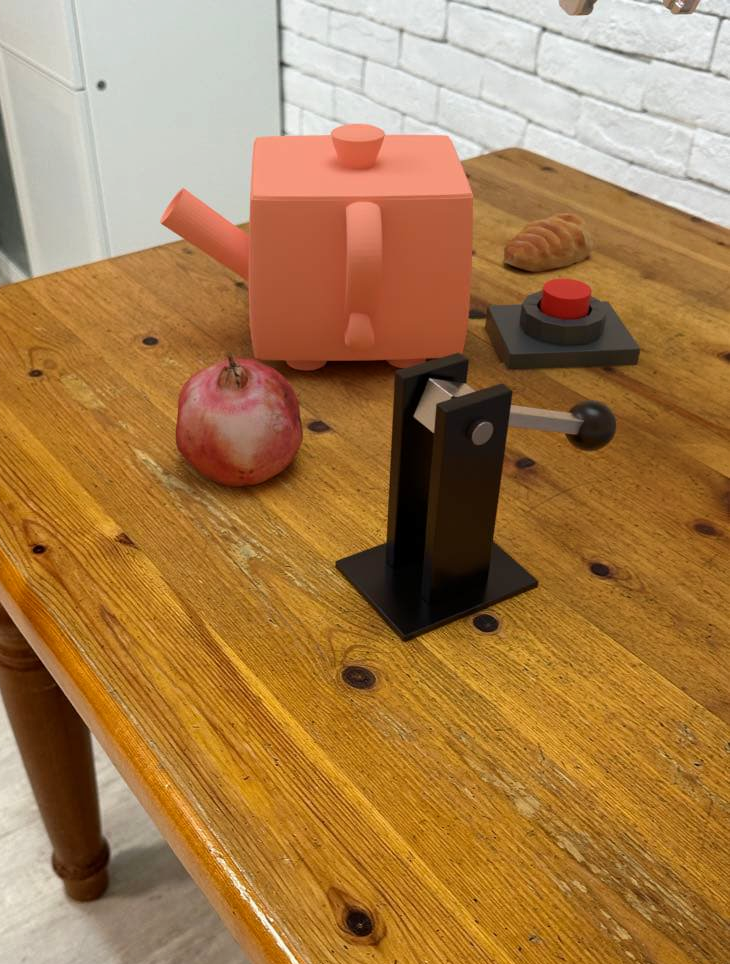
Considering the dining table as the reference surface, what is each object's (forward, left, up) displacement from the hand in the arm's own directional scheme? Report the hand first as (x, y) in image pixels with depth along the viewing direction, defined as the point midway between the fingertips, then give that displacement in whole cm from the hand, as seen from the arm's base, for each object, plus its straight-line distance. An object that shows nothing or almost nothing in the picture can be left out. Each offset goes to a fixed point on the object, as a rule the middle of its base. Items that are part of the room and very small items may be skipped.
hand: (625, 10), depth 68 cm
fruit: (+27, +9, -28) cm, 40 cm away
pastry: (-5, -26, -28) cm, 38 cm away
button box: (-1, -7, -28) cm, 29 cm away
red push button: (-1, -7, -25) cm, 25 cm away
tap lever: (+10, +21, -19) cm, 30 cm away
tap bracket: (+15, +24, -28) cm, 40 cm away
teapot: (+20, -11, -28) cm, 36 cm away
